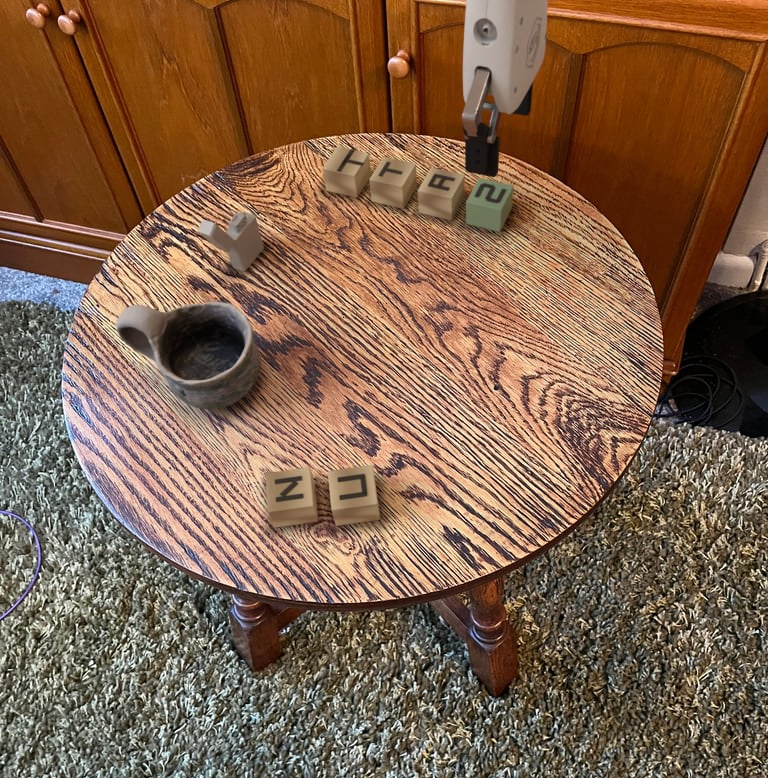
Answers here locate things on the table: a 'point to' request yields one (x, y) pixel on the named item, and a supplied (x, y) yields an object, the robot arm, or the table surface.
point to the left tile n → (291, 497)
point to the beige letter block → (347, 171)
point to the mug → (196, 350)
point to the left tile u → (353, 495)
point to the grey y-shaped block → (236, 239)
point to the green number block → (489, 204)
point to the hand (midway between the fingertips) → (498, 141)
